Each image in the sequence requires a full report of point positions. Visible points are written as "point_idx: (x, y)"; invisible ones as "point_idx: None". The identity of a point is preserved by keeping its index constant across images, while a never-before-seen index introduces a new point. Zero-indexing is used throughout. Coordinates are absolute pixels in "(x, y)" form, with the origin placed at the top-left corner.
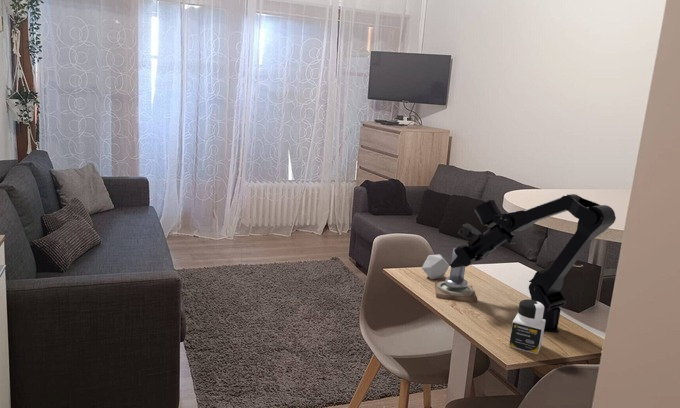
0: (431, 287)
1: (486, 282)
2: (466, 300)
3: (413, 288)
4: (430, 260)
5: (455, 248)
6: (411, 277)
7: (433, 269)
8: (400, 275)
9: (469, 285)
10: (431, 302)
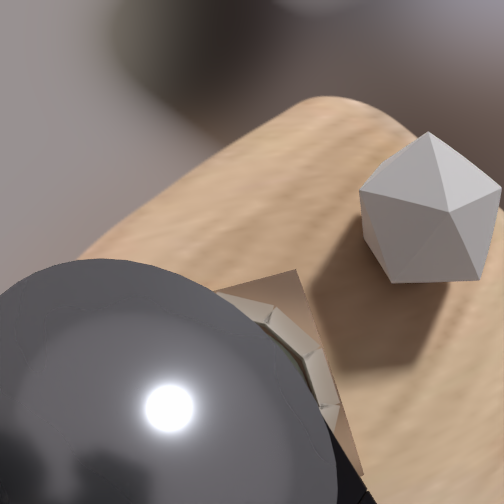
0: (234, 272)
1: (492, 469)
2: None
3: (164, 204)
4: (402, 161)
5: (142, 318)
6: (315, 161)
7: (367, 214)
8: (305, 126)
9: (359, 462)
10: None
